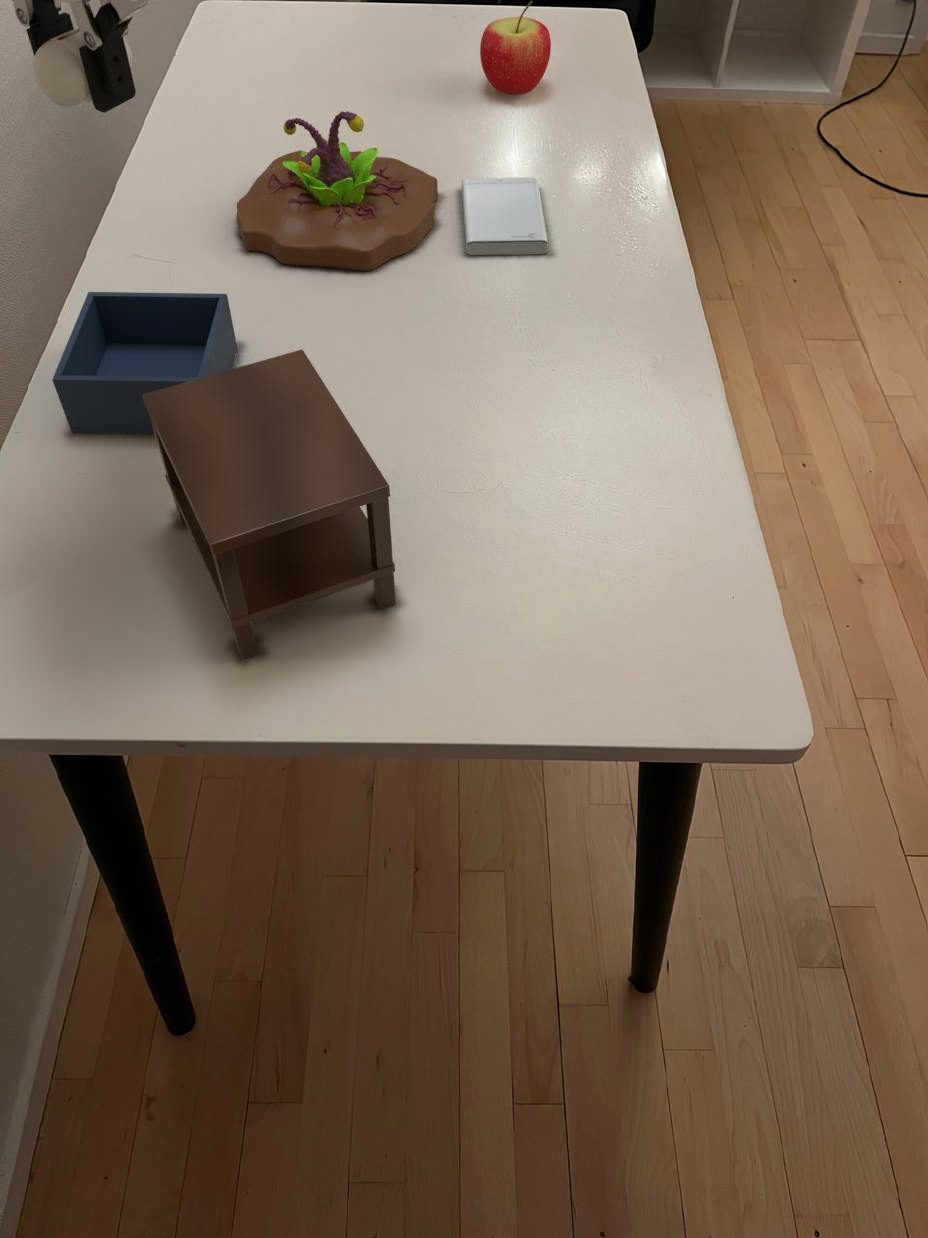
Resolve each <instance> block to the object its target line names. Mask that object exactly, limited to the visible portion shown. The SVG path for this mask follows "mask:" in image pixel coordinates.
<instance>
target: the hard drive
mask: <svg viewBox="0 0 928 1238" xmlns="http://www.w3.org/2000/svg"><path fill="white" fill-rule="evenodd" d="M461 199H462V200H461V201H462V213H463V224H464V225H463V226H464V234H465V237H464V238H465V248H466V249H465V251H466V254H468V255H471V256H482V255H483V256H493V255H494V256H496V255H498V256H499V255H505V256H506V255H543V254H547V253H548V250H549V241H548V234H547V228H546V223H545V217H544V210H543V204H542V198H541V192H540V187H539V181H538V178H537V177H481V178H480V177H479V178H478V177H477V178H475V177H474V178H464V179H462V180H461Z"/></svg>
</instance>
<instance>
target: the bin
mask: <svg viewBox="0 0 928 1238" xmlns="http://www.w3.org/2000/svg"><path fill="white" fill-rule="evenodd" d="M237 348H238V344H237V338H236V333H235V329H234V323H233V317H232V313H231V308H230V303H229V297H228V294H227V293H203V292H202V293H201V292H200V293H199V292H198V293H195V292H193V293H191V292H190V293H189V292H188V293H187V292H133V291H132V292H131V291H129V292H128V291H126V292H123V291H120V292H119V291H88V292H87V295H86V297H85V300H84V301H83V305H82V307H81V309H80V312H79V314H78V316H77V319H76V321H75V323H74V326H73V328H72V331H71V333H70V335H69V338H68V341H67V343H66V345H65V348H64V350H63V352H62V355H61V357H60V360H59V362H58V364H57V367H56V369H55V372H54V373H53V377H52V379H51V380H52V383H53V385H54V389H55V390H56V394H57V396H58V400H59V402H60V404H61V408H62V410H63V413H64V415H65V418H66V421H67V424H68V426H69V429H70V432H71V433H73V434H74V433H75V434H76V433H77V434H78V433H79V434H131V435H132V434H135V435H137V434H140V435H155V434H154V430H153V427H152V423H151V420H150V416H149V414H148V411H147V409H146V407H145V405H144V401H143V398H142V395H143V394H146V393H150V392H153V391H157V390H160V389H164V388H167V387H171V386H174V385H178V384H181V383H185V382H189V381H192V380H196V379H199V378H203V377H206V376H210V375H213V374H217V373H220V372H224V371H227V370H231V369H233V365H234V361H235V356H236V353H237Z"/></svg>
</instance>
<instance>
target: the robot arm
mask: <svg viewBox="0 0 928 1238" xmlns="http://www.w3.org/2000/svg"><path fill="white" fill-rule="evenodd" d="M11 1H12V2H13V9H14V13H15V16H16V19H17V21H18V22H19V23H20V25H22V26H23V27H28V28H26V34H27V37H28V41H29V43H30V46H31V50H32V54H33V58H34V57H35V54H36V52H37V50H38V49H39V48H40V46H41V45H42V44H44V43H45V42H47V41H48V40H50V39H53V38H55V37H57V36H59V35H61V34H63V33H66V32H68V31H70V30H72V29H74V24H73V21H72V18H71V14H70V13H67V12H65V11H64V12H62V2H63V3H68V4H69V6H70V8H71V11H72V14H73V17H74V19H75V23H76V24H77V27H79V30H80V33H81V35H82V38H83V41H84V43H85V44H86V45H84V46H82V47H80V48H79V51H80V56H81V60H82V63H83V67H84V71H85V74H86V77H87V81H88V85H89V90H90V94H91V97H92V104H93V107H94V109H95V110H96V111H98V112H100V113H108V112H109V111H111V110H113V109H115V108H116V107H118V106H120V105H123V104H124V103H127V102H128V101H129V100H130V101H131V100H132V99H133V98H135V96H136V92H137V91H136V86H135V81H134V78H133V72H132V68H130V64H129V60H128V56H127V51H126V47H125V43H124V38H125V37H126V36H127V35H128V34H129V24H130V23H131V21H132V20H133V17H134V16H135V15H136V14H137V13H139V12H140V11H141V10H143V8H145V7H146V6H147V5H148V3H149V0H99V2H100V5H101V6H100V7H99V9H98V10H97V13H96V14H95V15H94V13H93V10H92V7H91V5H90V2H91V0H11ZM123 36H124V38H123Z"/></svg>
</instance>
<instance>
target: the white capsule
mask: <svg viewBox="0 0 928 1238" xmlns="http://www.w3.org/2000/svg"><path fill="white" fill-rule="evenodd" d="M73 28H74V27H73ZM123 38H124V43H125V47H126V51H127V56H128V60H129V64H130V68H131V69H132V68H133V53H132V50H131V47H130V44H129V42H128V40H127V39H126V38H125V36H123ZM84 45H86V44H85V43H84V41H83V38H82V35H81V33H80V30H79V27H78V26H77V27H75V28H74V29H72V30H70V31H68V32H66V33H63V34H61V35H59V36H57V37H55V38H53V39H50V40H48V41H47V42H45V43H44V44H42V45H41V46H40V48H39V49H38V50H37V52H36V54H35V57H34V56H33V61H32V72H33V78H34V82H35V83H36V85H37V88H38V89H39V90H40V92H41V93H42V94H43V95H44V96H45V97H46V98H47V99H48V100H49V101H51V102H52V103H53V104H56V105H58V106H60V107H64V108H65V107H66V108H79V107H80V106H81V107H82V106H84V105H86V104H88V103H90V102H91V101H92V97H91V94H90V90H89V85H88V81H87V77H86V74H85V71H84V67H83V63H82V60H81V56H80V51H79V48H80V47H82V46H84ZM92 102H93V101H92Z"/></svg>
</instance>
